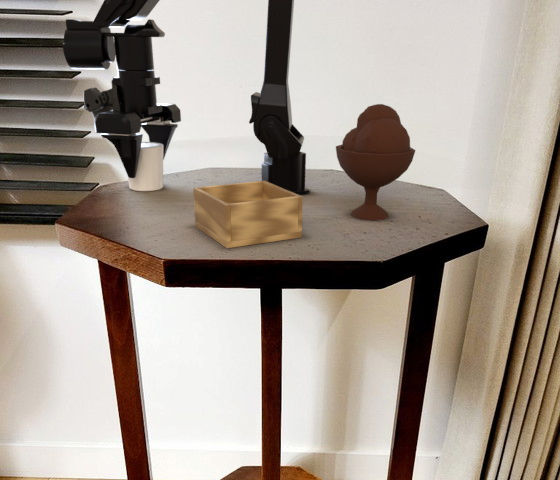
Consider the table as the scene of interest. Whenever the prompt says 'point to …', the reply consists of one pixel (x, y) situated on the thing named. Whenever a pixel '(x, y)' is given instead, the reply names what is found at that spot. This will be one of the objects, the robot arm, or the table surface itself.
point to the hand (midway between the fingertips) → (145, 172)
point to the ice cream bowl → (375, 156)
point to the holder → (248, 213)
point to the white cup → (149, 168)
